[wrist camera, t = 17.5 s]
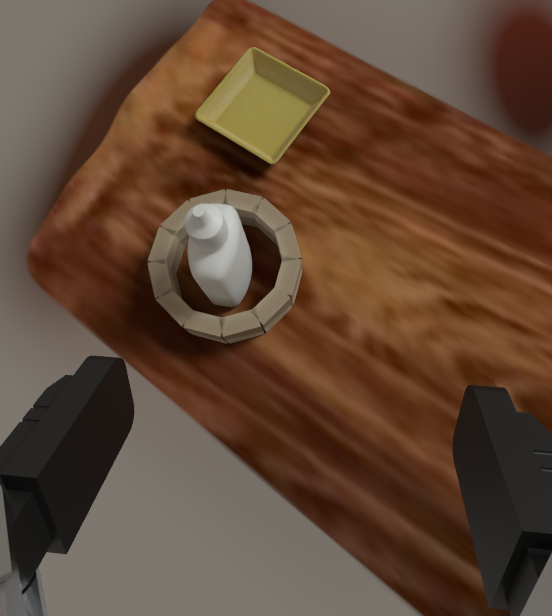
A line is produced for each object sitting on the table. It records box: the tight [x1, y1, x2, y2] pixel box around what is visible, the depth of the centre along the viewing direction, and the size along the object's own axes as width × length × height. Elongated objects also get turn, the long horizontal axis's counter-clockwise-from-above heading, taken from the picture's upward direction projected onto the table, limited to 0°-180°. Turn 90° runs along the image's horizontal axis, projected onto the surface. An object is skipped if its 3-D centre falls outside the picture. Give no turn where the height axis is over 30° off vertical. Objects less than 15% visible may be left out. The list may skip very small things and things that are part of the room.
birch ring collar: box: [148, 189, 302, 344], centre depth 38 cm, size 11×11×3 cm
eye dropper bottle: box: [184, 203, 252, 307], centre depth 34 cm, size 4×6×12 cm
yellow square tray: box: [195, 47, 330, 164], centre depth 42 cm, size 9×9×2 cm
